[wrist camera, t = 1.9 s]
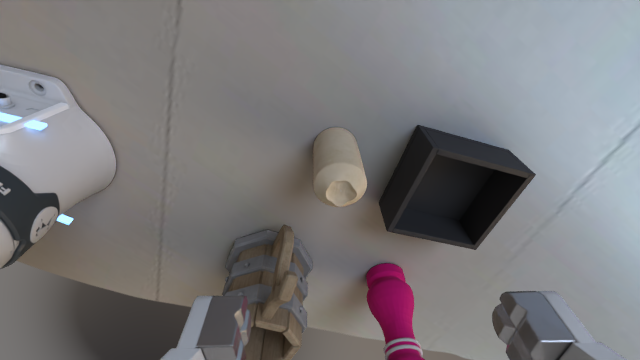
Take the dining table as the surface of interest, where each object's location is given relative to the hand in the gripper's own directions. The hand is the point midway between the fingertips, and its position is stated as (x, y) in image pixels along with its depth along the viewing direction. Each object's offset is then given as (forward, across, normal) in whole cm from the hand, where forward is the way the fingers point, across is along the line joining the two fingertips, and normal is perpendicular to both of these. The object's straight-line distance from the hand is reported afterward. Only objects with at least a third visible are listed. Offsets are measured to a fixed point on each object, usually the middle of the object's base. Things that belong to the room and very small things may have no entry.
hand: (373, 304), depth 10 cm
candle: (+29, 0, +9) cm, 30 cm away
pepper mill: (+29, -9, +34) cm, 45 cm away
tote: (+29, -15, +14) cm, 35 cm away
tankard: (+29, +8, +26) cm, 40 cm away
